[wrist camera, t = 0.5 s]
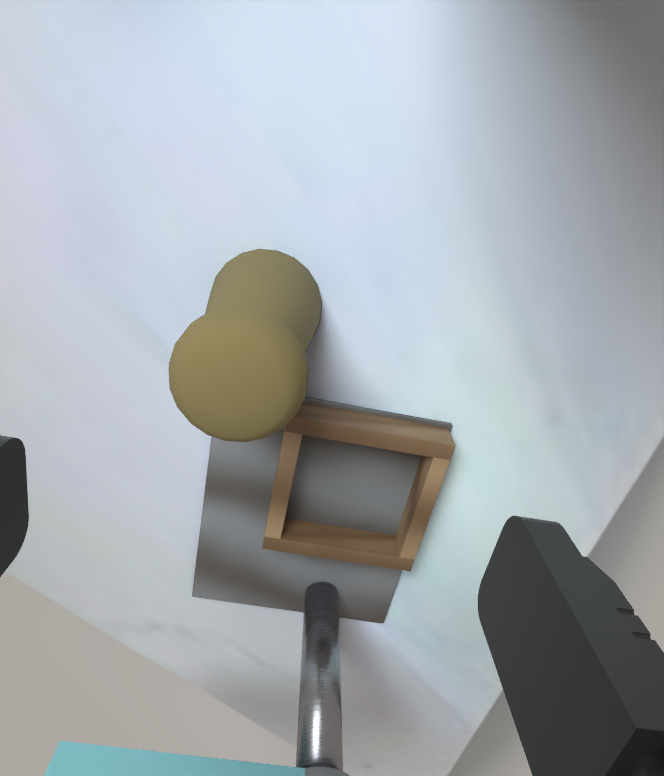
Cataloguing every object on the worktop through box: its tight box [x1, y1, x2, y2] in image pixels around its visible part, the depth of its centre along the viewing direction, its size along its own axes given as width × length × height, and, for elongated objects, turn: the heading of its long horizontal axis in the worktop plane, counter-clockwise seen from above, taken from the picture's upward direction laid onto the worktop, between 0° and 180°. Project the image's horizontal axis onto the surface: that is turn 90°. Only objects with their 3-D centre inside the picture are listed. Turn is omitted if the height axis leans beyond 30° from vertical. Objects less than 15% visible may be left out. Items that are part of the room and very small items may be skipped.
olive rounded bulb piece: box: [169, 249, 322, 442], centre depth 23 cm, size 6×6×11 cm
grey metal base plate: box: [192, 397, 455, 623], centre depth 33 cm, size 17×14×2 cm
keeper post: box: [296, 582, 343, 771], centre depth 31 cm, size 2×2×12 cm
